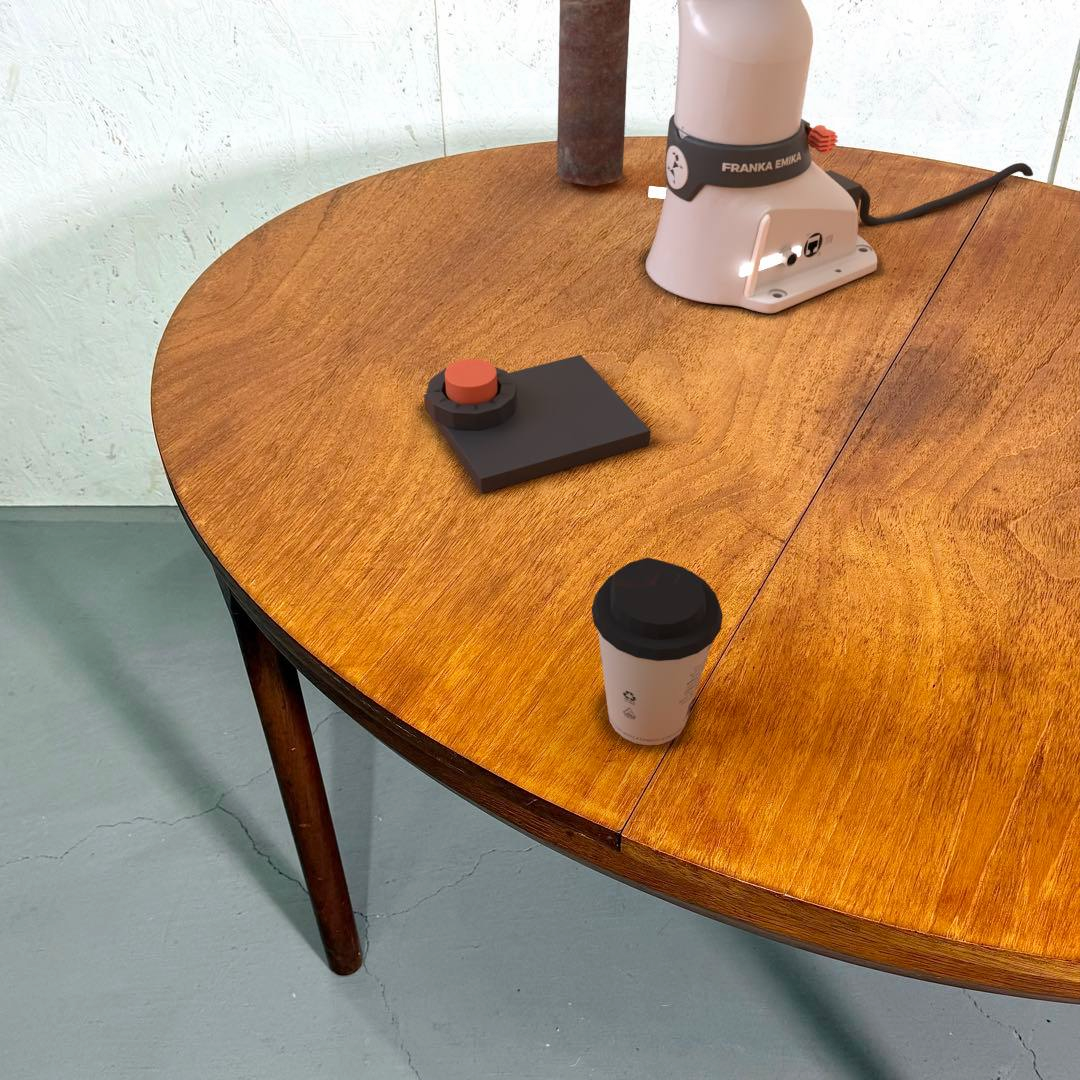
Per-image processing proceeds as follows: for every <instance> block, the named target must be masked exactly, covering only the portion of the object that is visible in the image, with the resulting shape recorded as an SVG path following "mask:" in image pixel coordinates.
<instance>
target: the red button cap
mask: <svg viewBox="0 0 1080 1080" xmlns="http://www.w3.org/2000/svg"><path fill="white" fill-rule="evenodd" d="M495 367H496V366H494V364H492V363H491V362H489V361H487V360H484V359H479V358H465V359H460V360H457V361H455V362H452V363H451V364H449V365H448V367H446V368H447V369H446V368H445V369H446V371H445V385H446V394H447V396H448V398H449V399H450V400H451V401H454V402H456V403H459V404H470V405H476V404H480V403H484V402H487V401H490V400H492V399H493V398H494V397H495V396H496V394H497V371H496V368H495Z"/></svg>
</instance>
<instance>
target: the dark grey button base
mask: <svg viewBox="0 0 1080 1080" xmlns="http://www.w3.org/2000/svg"><path fill="white" fill-rule="evenodd" d="M494 367H495V368H496V371H497V394H496V396H495V397H494V398H493V399H492V400H490V401H487V402H484V403H480V404H476V405H470V404H459V403H456V402H454V401H451V400H450V399H449V398H448V396H447V394H446V385H445V371H446V369H447V368H448V367H445V368H443V369H442V370H440V372H438V373H436V374H435V375H434V376H432V377H431V378H429V380H428V381H429V382H428V384H427V388H426V390H425V391H426V392H425V394H423V400H424V401H423V402H424V410H425V411H426V412H427V414H428V415H429V417H430V418H431V420H432V421H433V423H434V425H435V426H436V428H437V429H438V431H439V432H440V433H441V435H442V436H443V438H444V439H445V441H446V443H447V444H448V445H449V447H450V449H451V450H452V452H453V453H454V454H455V456H456V457H457V459H458V460H459V462H460V463H461V465H462V466H463V468H464V469H465V471H466V472H467V474H468V476H469V477H470V478H471V480H472V481H473V483H474V484H475V486H476V487H477V490H479V492H480V493H481V494H485V493H488V492H492V491H496V490H499V489H503V488H506V487H509V486H513V485H516V484H521V483H523V482H526V481H529V480H533V479H537V478H540V477H544V476H548V475H551V474H554V473H557V472H562V471H564V470H569V469H572V468H574V467H578V466H582V465H585V464H589V463H592V462H595V461H599V460H602V459H606V458H609V457H612V456H615V455H620V454H622V453H627V452H629V451H633V450H637V449H640V448H644V447H648V446H650V444H651V443H650V442H651V429H650V427H648V426H647V425H646V424H645V423H644V421H642V419H641V418H640V417H639V416H638V415H637V414H636V413H635V412H634V411H633V410H632V409H631V407H630V406H629V405H628V404H627V403H626V402H625V401H624V400H623V399H622V397H620V395H619V394H618V393H617V392H616V391H615V390H614V389H613V388H612V387H611V386H610V385H609V383H608V382H607V381H606V380H605V379H604V378H603V377H602V376H601V375H600V374H599V373H598V372H597V371H596V369H595V368H594V367H593V366H592V365H591V364H590V363H589V362H588V361H587V359H585V358H584V356H583V355H582V354H578V355H574V356H570V357H566V358H562V359H557V360H554V361H551V362H546V363H542V364H538V365H533V366H531V367H527V368H526V367H525V368H523V369H519V370H515V371H511V372H508V371H507V370H505V369H502V368H499V367H496V366H494Z"/></svg>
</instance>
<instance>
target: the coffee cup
mask: <svg viewBox="0 0 1080 1080" xmlns="http://www.w3.org/2000/svg"><path fill="white" fill-rule="evenodd" d="M721 607H722V606H721V605H720V600H719V599H718V596H717V593H716V592H715V591H714V590H713V588H712V587H711V586H710V584H709V583H708V582H707V581H706V580H705V579H703V578H702V577H700V576H699V575H698V574H696V573H695V572H694V571H691V570H689V569H687V568H686V567H684V566H681V565H678V564H674V563H671V562H668V561H664V560H660V559H656V558H652V557H645V558H642V559H637V560H634V561H631V562H628V563H627V564H625V565H623V566H622V567H621V568H619V569H618V570H616V571H615V572H614V573H613V574H611V575H610V576H608V577H607V579H606V580H605V581H604V582H603V584H602V585H601V586H600V587H599V589H598V590H597V592H596V593H595V595H594V598H593V601H592V605H591V609H590V610H591V615H592V621H593V625H594V626H595V628H596V629H597V634H598V641H599V642H598V643H599V649H600V660H601V666H602V674H603V682H604V690H605V691H604V692H605V697H606V706H607V713H608V720H609V723H610V724H611V726H612V728H613V730H614V731H615V732H616V733H617V734H619V736H621V737H622V738H623V739H625V740H626V741H630V742H631V743H633V744H637V745H643V746H658V745H660V746H661V745H663V744H665V743H668V742H671V741H672V740H674V739H675V738H677V737H678V736H679V735H680V734H681V733H682V731H683V729H684V728H685V726H686V725H687V724H686V723H687V721H688V719H689V714H690V712H691V709H692V706H693V702H694V699H695V697H696V694H697V690H698V687H699V684H700V681H701V678H702V675H703V672H704V670H705V667H706V663H707V660H708V658H709V654H710V651H711V648H712V645H713V643H714V641H715V640H716V638H717V636H718V635H719V634H720V631H721V630H722V623H723V619H724V618H723V617H724V615H723V611H722V608H721Z"/></svg>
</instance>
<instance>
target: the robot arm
mask: <svg viewBox="0 0 1080 1080" xmlns="http://www.w3.org/2000/svg"><path fill="white" fill-rule="evenodd" d="M676 4H677V15H678V48H677V49H678V51H677V64H676V65H677V66H676V67H677V68H676V80H675V81H676V84H675V98H674V100H675V101H674V111H673V112H674V113H673V114H672V115H671V116H670V118H669V121H668V128H667V130H668V131H667V137H666V147H665V148H666V149H665V169H664V170H665V172H664V173H665V187H660V186H652V185H651V186H648V198H655V199H663V203H662V209H661V211H660V217H659V220H658V225H657V228H656V232H655V235H654V239H653V242H652V245H651V248H650V249H649V253H648V255H647V257H646V260H645V270H646V273H647V275H648V276H649V278H650V279H651V280H652V281H653V282H654V283H655V284H656V285H658V286H659V287H661V288H662V289H664V290H665V291H667V292H669V293H671V294H674V295H676V296H679V297H681V298H685V299H688V300H690V301H695V302H699V303H700V302H701V303H705V304H711V305H713V304H714V305H723V306H735V307H740V308H744V309H747V310H751V311H755V312H759V313H763V314H774V313H778V312H781V311H783V310H786V309H788V308H791V307H792V306H795V305H798V304H800V303H802V302H805V301H807V300H809V299H812V298H814V297H817V296H820V295H822V294H824V293H826V292H828V291H831V290H833V289H836V288H838V287H840V286H843V285H846V284H848V283H850V282H853V281H855V280H858V279H860V278H862V277H864V276H867V275H869V274H871V273H873V272H876V271H877V268H878V255H877V253H876V252H875V250H874V249H873V247H872V246H871V245H870V244H869V243H868V241H866V240H865V239H864V238H863V237H862V236H860V235H859V234H858V233H859V232H858V231H859V219H860V220H861V222H862V223H863V224H865V225H867V226H871V227H873V226H880V225H886V224H891V223H896V222H903V221H907V220H911V219H914V218H917V217H920V216H922V215H924V214H927V213H929V212H932V211H935V210H938V209H942V208H944V207H948V206H950V205H952V204H955V203H957V202H960V201H963V200H964V199H967V198H968V197H970V196H973V195H975V194H977V193H980V192H981V191H984V190H987V189H988V188H991V187H993V186H995V185H997V184H999V183H1000V182H1002V181H1004V180H1005V179H1007V178H1008V177H1011V176H1012V175H1014V174H1016V173H1022V175H1023V176H1024V177H1033V176H1034V172H1033V169H1032V168H1031V167H1030V166H1029V165H1028V164H1027V163H1025V162H1017V163H1013V164H1011V165H1009V166H1006V167H1005V168H1003V169H1002V170H1001V171H999V172H997V173H995V174H993V175H992V176H991V177H988V178H986V179H984V180H983V179H982V180H981V181H978V182H976V183H973V184H971V185H969V186H966V187H965V188H963V189H960V190H959V191H957V192H954V193H951V194H949V195H945V196H943V197H941V198H937V199H934V200H931V201H928V202H925V203H923V204H921V205H918V206H915V207H914V208H911V209H908V210H906V211H904V212H901V213H898V214H897V215H894V216H893V215H892V216H890V217H889V216H888V217H884V218H878V217H874V216H872V215H870V207H871V196H870V194H869V192H868V191H867V190H866V188H865V187H863V184H861V183H859V182H857V181H855V180H852V179H850V178H848V177H846V176H844V175H843V174H840V173H838V172H835V171H833V170H832V169H830V170H827V171H824V170H823V169H822V168H821V167H820V166H819V165H817V163H815V162H814V161H813V160H812V155H811V150H810V147H811V148H812V149H815V150H816V151H817V152H819V153H820V154H822V155H827V154H830V153H831V152H833V151H834V148H836V147H837V144H836V143H838V142H839V141H838V140H839V139H838V138H839V137H838V135H837V132H835V131H834V130H832V129H828V128H827V127H826V126H825V125H822V124H818V125H815V126H814V127H812V126H811V123H810V122H809V121H806V120H805V119H804V118H802V116H803V111H804V102H805V97H806V90H807V85H808V77H809V71H810V64H811V58H812V51H813V44H814V32H813V25H812V21H811V18H810V15H809V12H808V10H807V9H806V6H805V5H804V2H803V1H802V0H676ZM858 211H859V213H858ZM858 214H859V215H858Z"/></svg>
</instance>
